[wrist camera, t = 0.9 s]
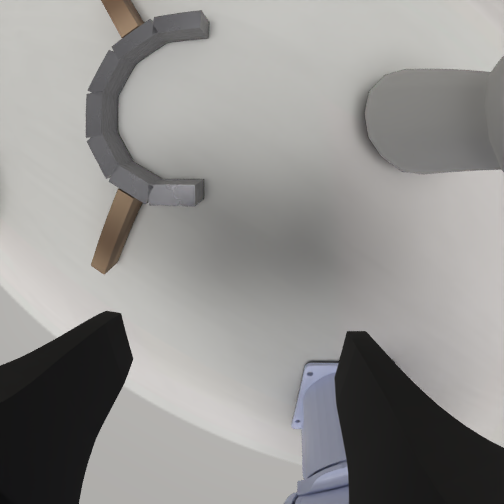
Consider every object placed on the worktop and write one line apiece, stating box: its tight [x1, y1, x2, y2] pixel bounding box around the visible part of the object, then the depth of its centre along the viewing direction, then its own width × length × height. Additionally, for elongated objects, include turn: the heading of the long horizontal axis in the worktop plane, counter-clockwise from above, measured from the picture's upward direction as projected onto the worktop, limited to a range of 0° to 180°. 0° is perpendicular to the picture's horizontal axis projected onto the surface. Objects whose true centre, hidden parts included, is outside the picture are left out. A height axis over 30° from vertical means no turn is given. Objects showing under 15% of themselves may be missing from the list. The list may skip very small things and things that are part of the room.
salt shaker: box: [364, 56, 504, 174], centre depth 9 cm, size 6×6×13 cm
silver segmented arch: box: [86, 10, 209, 206], centre depth 15 cm, size 11×7×2 cm, turn 178°
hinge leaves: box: [91, 0, 144, 274], centre depth 15 cm, size 21×4×2 cm, turn 178°
